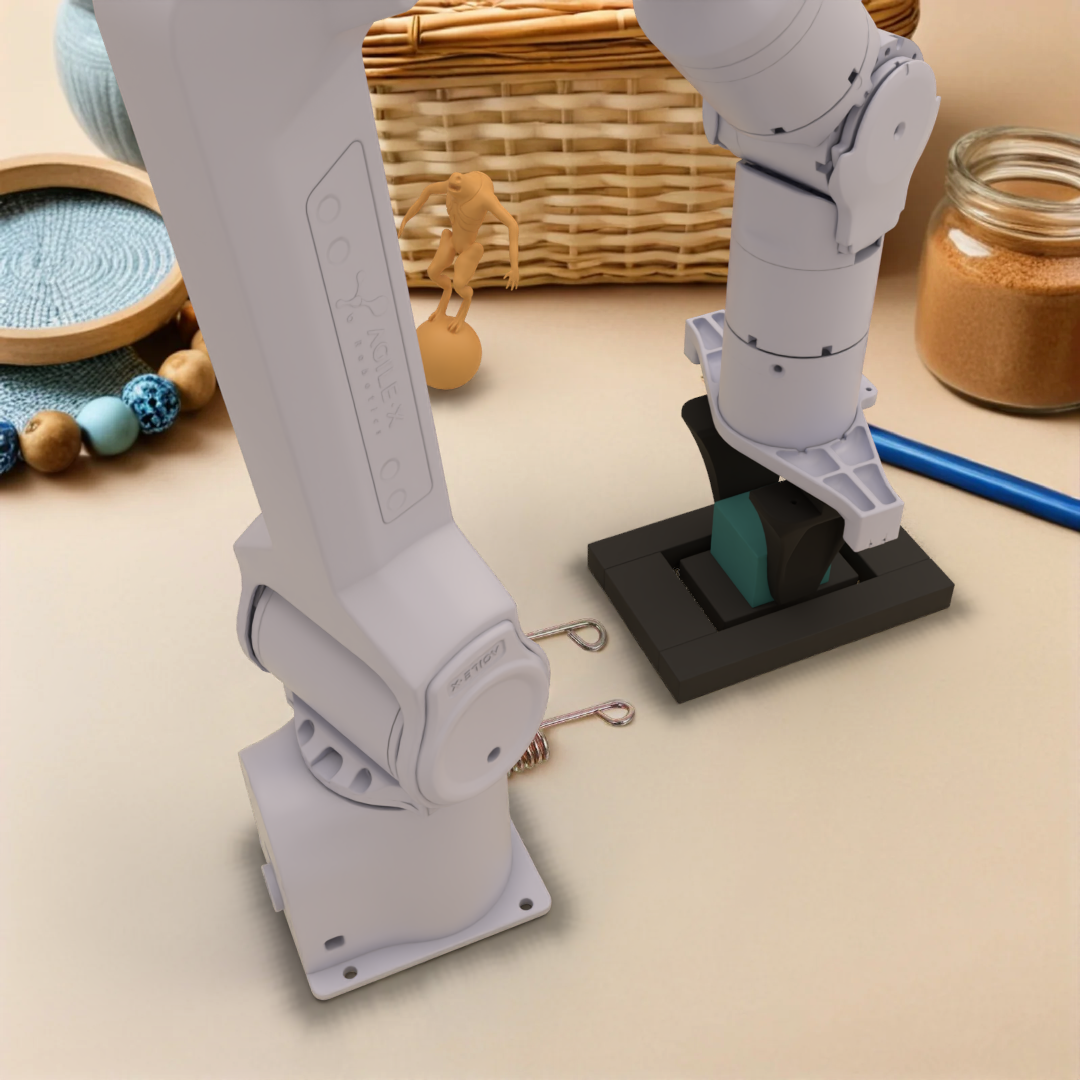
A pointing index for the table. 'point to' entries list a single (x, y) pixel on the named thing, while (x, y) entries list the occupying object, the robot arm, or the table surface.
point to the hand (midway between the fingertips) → (768, 561)
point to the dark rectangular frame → (764, 643)
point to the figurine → (459, 276)
